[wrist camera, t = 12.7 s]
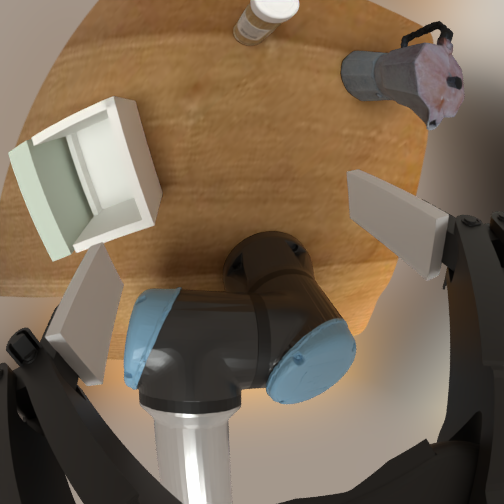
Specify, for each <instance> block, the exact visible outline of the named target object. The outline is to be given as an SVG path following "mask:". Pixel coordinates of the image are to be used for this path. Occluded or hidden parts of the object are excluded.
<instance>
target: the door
mask: <svg viewBox="0 0 504 504" xmlns="http://www.w3.org/2000/svg"><path fill="white" fill-rule="evenodd" d="M8 154H9V157H10V161H11V164H12V167H13V170H14V173H15V176H16V179H17V182H18V185H19V187H20V190H21V193H22V195H23V198H24V200H25V203H26V205H27V208H28V210H29V213H30V215H31V217H32V220H33V222H34V224H35V226H36V228H37V231H38V233H39V235H40V237H41V239H42V241H43V243H44V245H45V247H46V249H47V251H48V253H49V255H50V257H51V259H52V261H56V260H58V259H61V258H63V257H66V256H68V255H71V254H72V253H73V251H74V247H73V244H74V243H75V241H76V240H77V238H78V237H79V236H80V234H81V233H82V231H83V230H84V229H85V227H86V226H87V225H88V223H89V222H90V221H91V219H92V218H93V217H94V215H93V213H92V210H91V208H90V205H89V203H88V200H87V198H86V195H85V192H84V190H83V187H82V184H81V182H80V179H79V176H78V173H77V170H76V167H75V164H74V161H73V158H72V155H71V152H70V149H69V146H68V143H67V139H66V136H65V137H62V138H58V139H55V140H51V141H48V142H45V143H42V144H39V145H35V146H34V145H33V141H32V139H30V140H27V141H25V142H23V143H22V144H20V145H19V146H17V147H16V148H14V149H13V150H11V151H10V152H9V153H8Z"/></svg>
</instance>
